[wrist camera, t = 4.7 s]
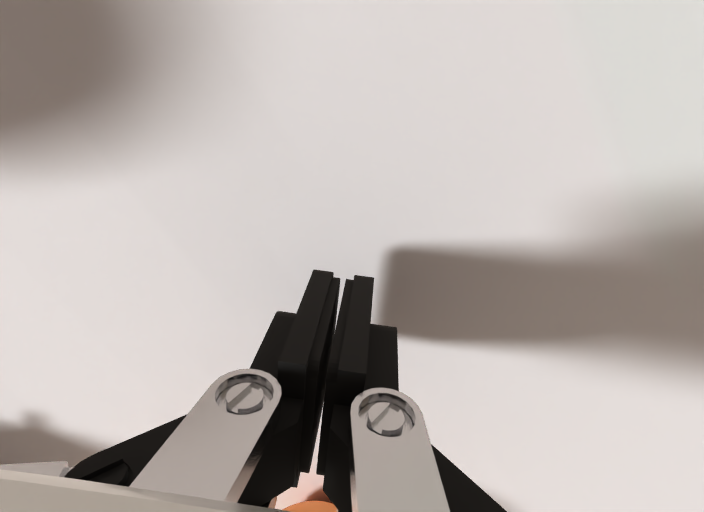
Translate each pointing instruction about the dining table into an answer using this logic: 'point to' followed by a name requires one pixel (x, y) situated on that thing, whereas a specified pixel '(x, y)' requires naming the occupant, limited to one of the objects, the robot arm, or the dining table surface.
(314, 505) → the ball
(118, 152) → the dining table surface
